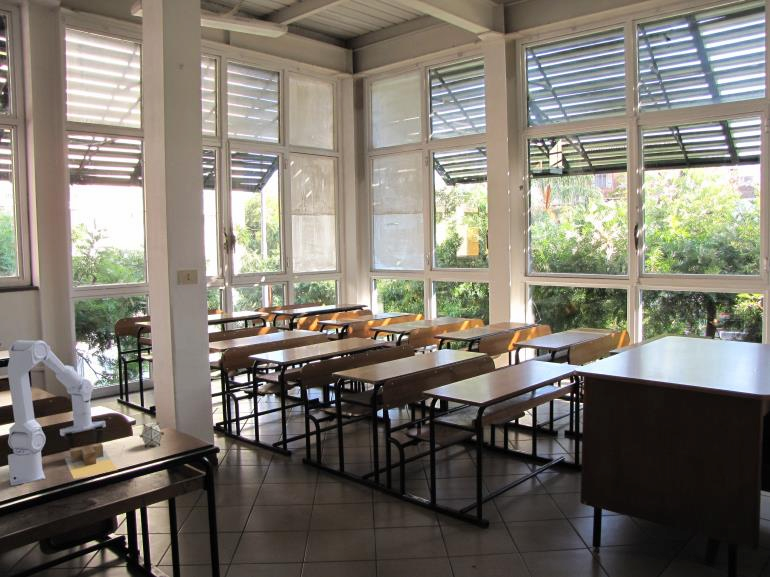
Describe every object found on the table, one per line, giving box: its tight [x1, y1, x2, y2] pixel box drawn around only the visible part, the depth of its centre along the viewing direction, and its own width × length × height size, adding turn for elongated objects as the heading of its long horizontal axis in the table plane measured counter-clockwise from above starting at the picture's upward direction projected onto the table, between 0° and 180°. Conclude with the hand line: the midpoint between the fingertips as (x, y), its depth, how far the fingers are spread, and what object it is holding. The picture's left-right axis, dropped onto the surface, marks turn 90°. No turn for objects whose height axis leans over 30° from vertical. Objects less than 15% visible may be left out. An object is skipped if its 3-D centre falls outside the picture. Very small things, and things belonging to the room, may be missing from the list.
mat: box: [64, 450, 118, 480], centre depth 220 cm, size 13×24×1 cm, turn 32°
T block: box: [69, 442, 104, 466], centre depth 223 cm, size 10×10×4 cm
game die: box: [138, 422, 165, 448], centre depth 238 cm, size 9×8×10 cm
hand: (84, 451), depth 229 cm, fingers open, 7 cm apart
